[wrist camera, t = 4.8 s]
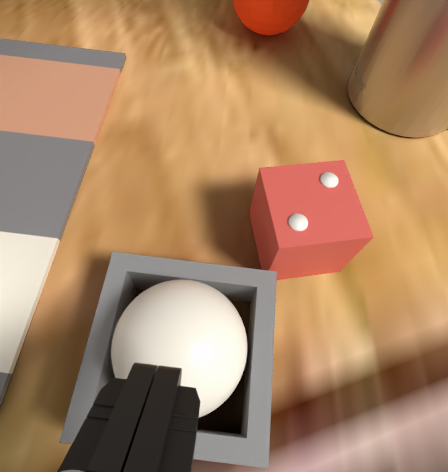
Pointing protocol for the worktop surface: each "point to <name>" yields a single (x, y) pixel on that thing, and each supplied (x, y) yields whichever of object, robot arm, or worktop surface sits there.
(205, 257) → the worktop surface
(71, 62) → the game board
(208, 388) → the dome cap
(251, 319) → the dome base
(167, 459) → the robot arm
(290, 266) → the die
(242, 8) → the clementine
